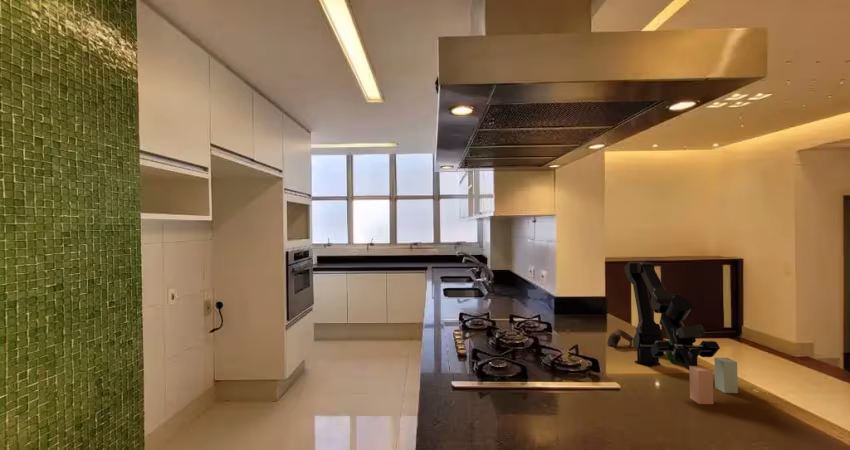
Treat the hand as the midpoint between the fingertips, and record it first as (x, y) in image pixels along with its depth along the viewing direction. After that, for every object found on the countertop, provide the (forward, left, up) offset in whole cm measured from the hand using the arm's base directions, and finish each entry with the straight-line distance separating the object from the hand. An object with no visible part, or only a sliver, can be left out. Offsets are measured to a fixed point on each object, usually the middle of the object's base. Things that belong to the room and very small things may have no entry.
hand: (696, 374), depth 126 cm
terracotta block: (+2, -1, -7) cm, 7 cm away
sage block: (+1, +14, -7) cm, 16 cm away
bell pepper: (-23, +29, -7) cm, 38 cm away
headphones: (-49, +30, -7) cm, 58 cm away
